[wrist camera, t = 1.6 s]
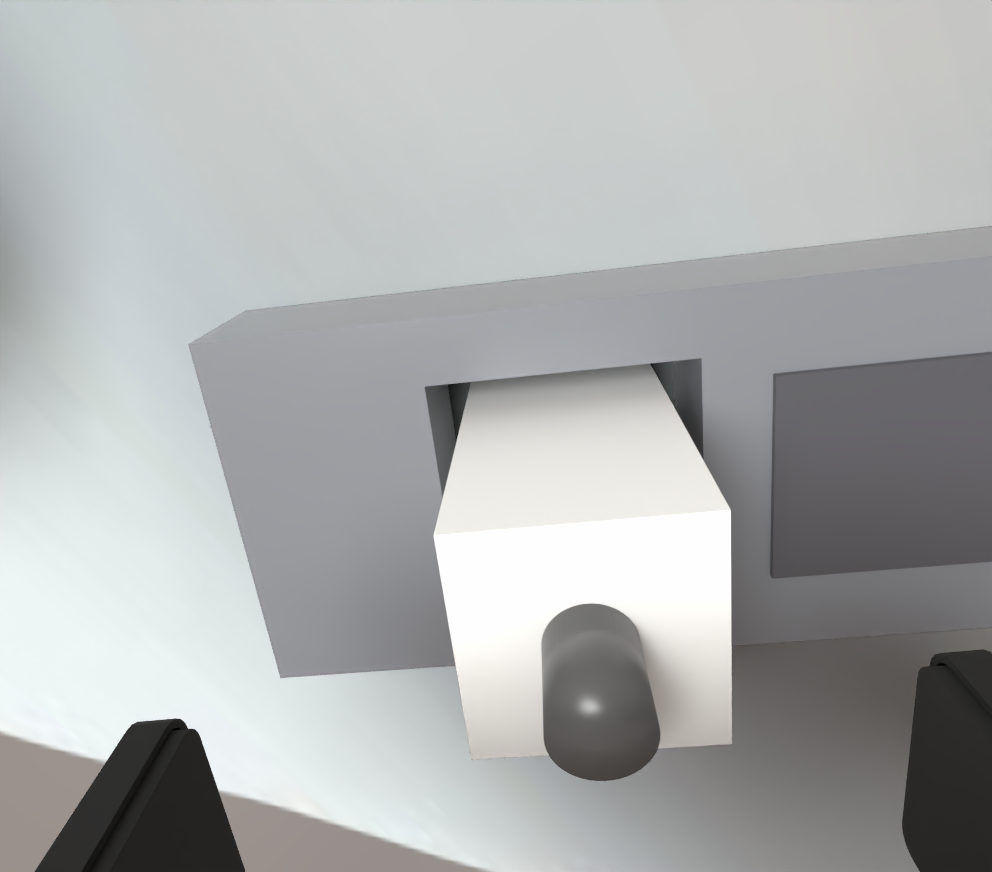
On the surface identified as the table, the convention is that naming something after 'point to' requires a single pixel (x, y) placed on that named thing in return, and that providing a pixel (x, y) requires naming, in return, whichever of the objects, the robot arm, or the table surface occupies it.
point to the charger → (585, 573)
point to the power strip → (698, 401)
